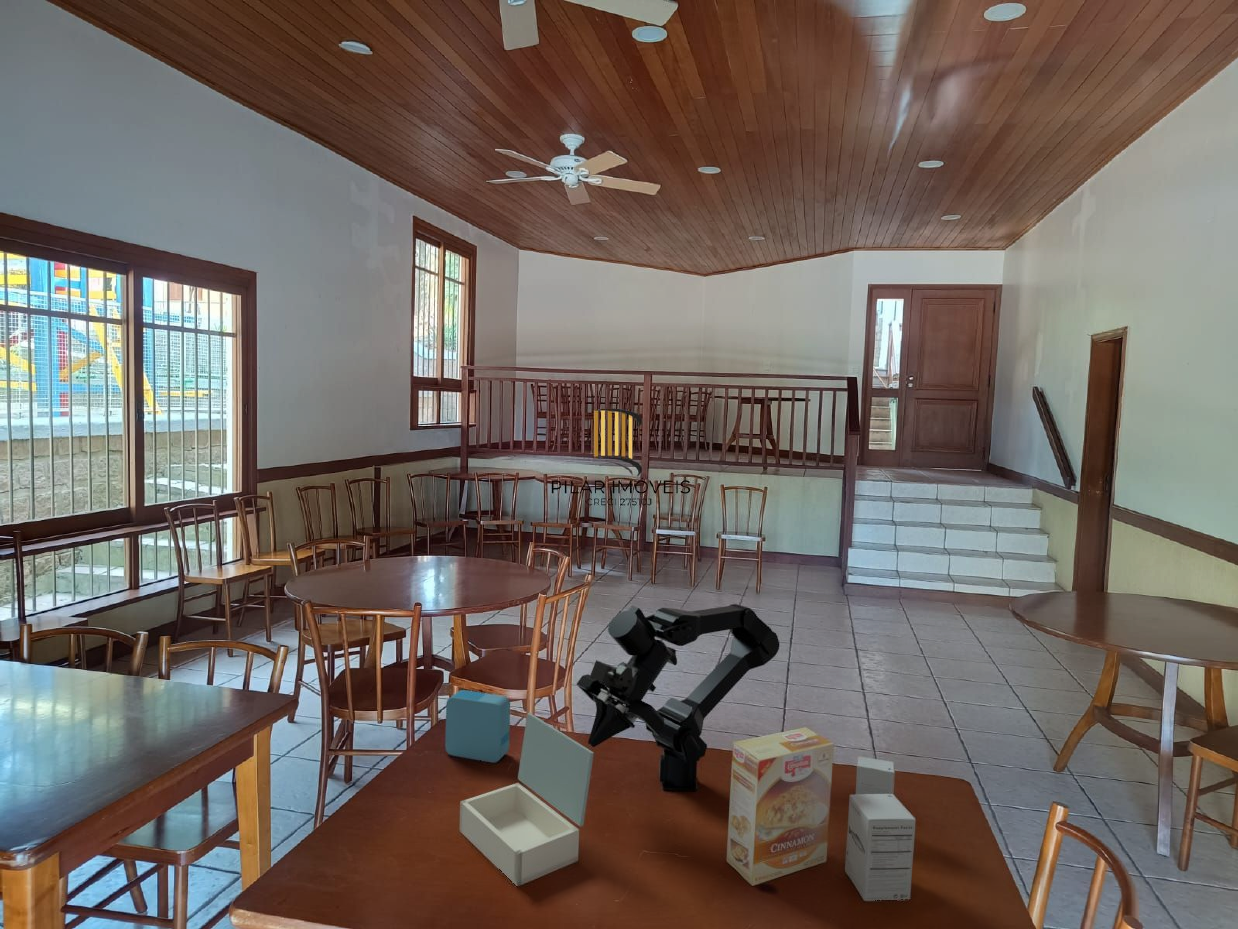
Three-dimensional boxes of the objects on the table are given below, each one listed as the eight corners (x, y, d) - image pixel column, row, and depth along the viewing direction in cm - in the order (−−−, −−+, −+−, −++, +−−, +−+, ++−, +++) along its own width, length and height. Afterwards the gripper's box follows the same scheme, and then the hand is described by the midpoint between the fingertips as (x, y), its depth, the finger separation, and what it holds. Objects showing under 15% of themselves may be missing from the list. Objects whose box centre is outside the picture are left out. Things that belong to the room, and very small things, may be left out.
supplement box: (843, 871, 117) (848, 793, 116) (889, 871, 118) (894, 792, 117) (862, 903, 110) (867, 819, 109) (911, 901, 110) (917, 818, 109)
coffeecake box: (752, 887, 112) (759, 760, 111) (724, 861, 119) (730, 740, 117) (829, 863, 119) (836, 742, 118) (798, 839, 125) (805, 725, 124)
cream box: (517, 810, 131) (518, 782, 131) (577, 860, 117) (579, 829, 117) (459, 831, 124) (460, 801, 124) (516, 887, 110) (517, 854, 110)
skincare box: (890, 829, 130) (895, 761, 129) (891, 842, 126) (895, 772, 125) (853, 822, 132) (857, 755, 131) (852, 834, 127) (857, 766, 127)
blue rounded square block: (509, 754, 152) (510, 696, 151) (499, 764, 148) (501, 704, 147) (455, 745, 156) (456, 688, 155) (444, 754, 151) (445, 696, 150)
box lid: (517, 779, 131) (520, 778, 131) (580, 826, 117) (583, 826, 117) (527, 713, 131) (530, 713, 132) (590, 753, 117) (593, 752, 117)
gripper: (586, 630, 138) (533, 702, 132) (654, 658, 124) (598, 740, 117) (618, 664, 144) (569, 735, 137) (687, 695, 129) (635, 776, 123)
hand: (590, 745), depth 129 cm, fingers closed
